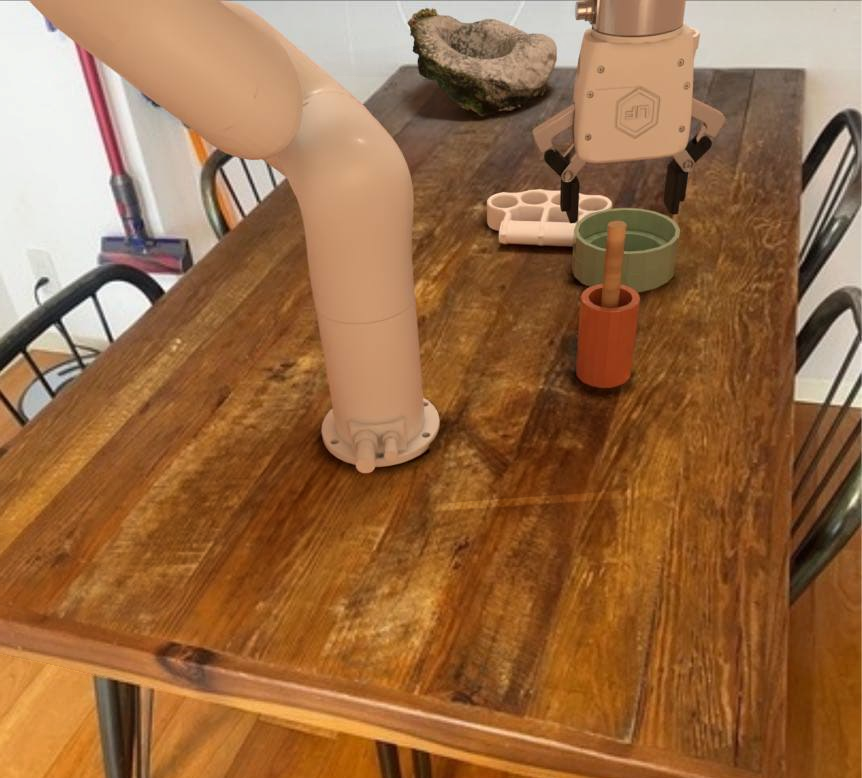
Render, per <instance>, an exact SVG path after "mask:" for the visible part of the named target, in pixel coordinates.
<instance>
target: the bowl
mask: <svg viewBox="0 0 862 778" xmlns="http://www.w3.org/2000/svg"><path fill="white" fill-rule="evenodd" d="M612 221H623V222H625V223H626V225H627V226H626V236H625V246H624V255H623V265H622V275H621V284H622V285H625V286H628V287H631V288H632V289H634V290H635V291H636V292H637V293H642V292H643V293H644V292H647V291H651V290H654V289H658V288H659V287H661V286H663V285H665V284H667V283H668V282H670V280H671V279H673V278H674V277H675V276H674V275H675V268H676V262H677V257H678V249H679V244H680V243H679V242H680V236H681V235H680V234H681V228H680V226H679V225H678V222H676V221H675V220H674V219H672V218H671V217H669V216H668V215H666V214H662V213H660V212H658V211H654V210H649V209H645V208H637V207H636V208H634V207H618V208H616V207H615V208H612V209H607V210H602V211H598V212H594V213H592V214H590V215H587V216H585V217H583V218H582V219H581V220H580V221H579V222H577V223H576V226H575V229H574V237H573V247H572V256H571V257H572V258H571V270H572V274H573V277H574V278H575V279H576V280H578V282H579V283H580V284H582V285H585V286H586V287H591V286H595V285H598V284H603V276H604V264H605V253H606V241H607V230H608V224H609V223H610V222H612Z"/></svg>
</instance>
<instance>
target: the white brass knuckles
mask: <svg viewBox="0 0 862 778" xmlns="http://www.w3.org/2000/svg"><path fill="white" fill-rule="evenodd" d="M560 190H561V189H560ZM560 190H549V189H548V190H547V189H543V188H542V189H541V188H540V189H539V188H538V189H528V190H524V191H520V192H505V191H502V192H498V193H495V194H492V195H490V196H489V197H488V198H487V200H486V223H487V226H488V227H489V228H490V229H492V230H494V231H496V232H498V243H499V244H502V245H509V244H510V245H529V246H530V245H531V246H539V247H544V246H548V247H549V246H550V247H552V246H554V247H572V248H573V237H574V229H575V226H576V223H577V222H579V221H580V220H581V219H582V218H583V217H585V216H587V215H590V214H592V213H594V212H598V211H602V210H607V209H613V201H612V200H611V199H610V198H609V197H607V196H604V195H602V194H595V195H593V194H584V193H580V192H579V207H578V221H577V222H576V223H570V222H569V219H568V216H567V214H566V211H565V212H562V211H561V208H560Z"/></svg>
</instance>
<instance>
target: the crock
mask: <svg viewBox="0 0 862 778" xmlns="http://www.w3.org/2000/svg"><path fill="white" fill-rule="evenodd" d="M602 288H603V284H598V285H595V286H591V287H590V286H588V287H587V288H586V289H585V290H583V291H582V293H581V296H580V305H579V319H578V331H577V333H578V335H577V347H576V361H575V362H576V363H575V373H576V377H577V378H578V379H579V380H580V381H581V382H582V383H583V384H586V385H588V386H591V387H595V388H602V389H604V388H605V389H606V388H607V389H609V388H614V387H618V386H619V387H620V386H621V385H623V384H625V383H626V382H628V381H629V379H630V378H631V374H632V371H633V370H632V369H633V362H634V355H635V354H634V353H635V345H636V336H637V329H638V320H639V312H640V303H641V296H640V294H639V292H636V291H635V290H634V289H632V288H631V287H628V286H625V285H622V284H621V285H620V295H619V304H618V308H605V307H601V299H602Z"/></svg>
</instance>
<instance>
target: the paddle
mask: <svg viewBox="0 0 862 778" xmlns="http://www.w3.org/2000/svg"><path fill="white" fill-rule="evenodd" d="M626 226H627V225H626V223H625V222H623V221H612V222H610V223H609V224H608V230H607V241H606V253H605V264H604V276H603V288H602V299H601V307H605V308H618V304H619V295H620V285H621V275H622V265H623V255H624V246H625V236H626Z"/></svg>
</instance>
